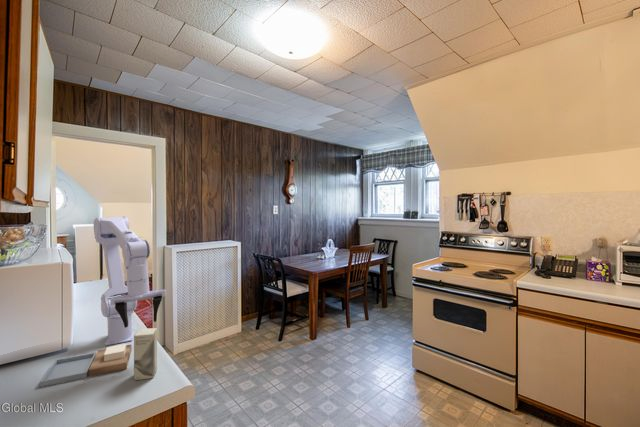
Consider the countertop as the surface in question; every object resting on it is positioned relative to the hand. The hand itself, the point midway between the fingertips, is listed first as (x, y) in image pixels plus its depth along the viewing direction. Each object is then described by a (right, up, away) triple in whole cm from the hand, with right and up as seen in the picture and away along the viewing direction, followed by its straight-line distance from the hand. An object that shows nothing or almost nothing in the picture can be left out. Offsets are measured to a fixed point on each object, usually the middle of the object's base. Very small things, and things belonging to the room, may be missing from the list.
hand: (141, 323), depth 93 cm
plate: (-9, -12, -1) cm, 14 cm away
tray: (-18, -12, -5) cm, 22 cm away
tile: (-8, -10, 0) cm, 12 cm away
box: (+6, -12, -7) cm, 15 cm away
